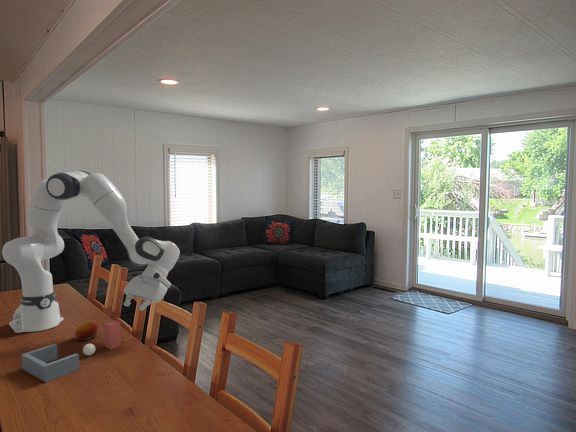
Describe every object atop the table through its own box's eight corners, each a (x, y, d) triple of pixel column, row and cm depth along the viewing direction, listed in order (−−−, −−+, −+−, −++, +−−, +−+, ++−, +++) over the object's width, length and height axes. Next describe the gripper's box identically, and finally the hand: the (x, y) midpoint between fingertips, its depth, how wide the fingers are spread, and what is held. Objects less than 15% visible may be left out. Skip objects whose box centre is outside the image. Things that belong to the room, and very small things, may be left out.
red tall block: (104, 346, 151) (103, 323, 150) (114, 343, 154) (113, 320, 153) (111, 349, 149) (109, 325, 148) (121, 345, 152) (119, 322, 151)
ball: (80, 355, 144) (80, 344, 143) (91, 351, 147) (91, 340, 146) (87, 358, 141) (86, 347, 141) (98, 354, 144) (97, 343, 144)
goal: (22, 369, 134) (21, 354, 133) (55, 357, 142) (54, 343, 142) (45, 382, 125) (44, 366, 124) (79, 369, 133) (78, 354, 133)
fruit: (93, 339, 154) (82, 321, 155) (78, 348, 156) (68, 330, 156) (107, 331, 162) (96, 314, 163) (92, 340, 164) (82, 323, 164)
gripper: (132, 270, 169) (111, 299, 162) (164, 276, 157) (143, 307, 150) (142, 278, 173) (122, 307, 166) (174, 285, 161) (154, 316, 154)
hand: (132, 307), depth 158 cm, fingers open, 8 cm apart
